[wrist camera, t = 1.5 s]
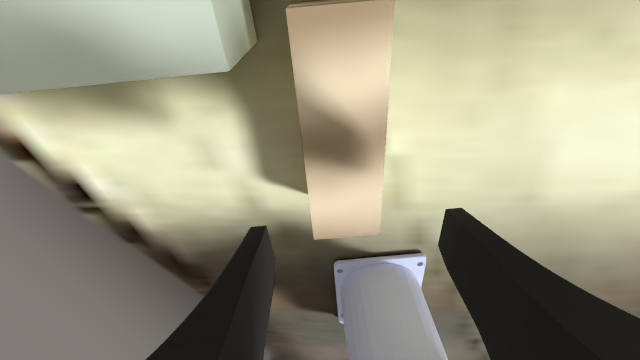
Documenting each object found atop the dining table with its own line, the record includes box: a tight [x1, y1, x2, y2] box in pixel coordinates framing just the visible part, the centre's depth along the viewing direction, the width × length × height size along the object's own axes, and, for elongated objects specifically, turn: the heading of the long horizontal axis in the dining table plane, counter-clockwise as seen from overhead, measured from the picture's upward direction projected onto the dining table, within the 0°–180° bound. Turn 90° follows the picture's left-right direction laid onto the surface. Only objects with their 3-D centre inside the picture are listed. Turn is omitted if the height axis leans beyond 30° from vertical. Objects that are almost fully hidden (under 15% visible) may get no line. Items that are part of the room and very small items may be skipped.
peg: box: [286, 0, 395, 240], centre depth 16 cm, size 12×4×5 cm, turn 4°
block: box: [0, 0, 257, 94], centre depth 11 cm, size 4×8×6 cm, turn 95°
